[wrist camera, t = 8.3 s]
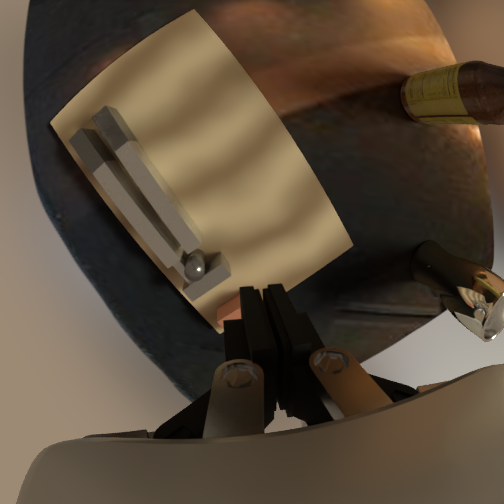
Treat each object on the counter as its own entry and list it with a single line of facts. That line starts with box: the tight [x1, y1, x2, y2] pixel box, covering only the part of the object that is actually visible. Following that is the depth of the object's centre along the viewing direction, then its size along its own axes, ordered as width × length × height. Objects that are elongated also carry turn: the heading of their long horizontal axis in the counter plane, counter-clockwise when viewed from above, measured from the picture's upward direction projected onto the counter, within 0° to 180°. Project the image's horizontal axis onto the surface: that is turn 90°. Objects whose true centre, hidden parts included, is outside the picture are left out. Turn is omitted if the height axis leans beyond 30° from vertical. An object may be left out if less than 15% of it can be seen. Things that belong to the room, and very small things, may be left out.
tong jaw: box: [92, 105, 203, 254], centre depth 23 cm, size 15×2×3 cm, turn 32°
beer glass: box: [410, 241, 504, 342], centre depth 27 cm, size 7×7×15 cm
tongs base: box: [69, 128, 232, 302], centre depth 24 cm, size 19×5×4 cm, turn 34°
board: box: [50, 9, 353, 333], centre depth 26 cm, size 30×18×1 cm, turn 34°
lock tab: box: [217, 294, 241, 329], centre depth 29 cm, size 3×4×2 cm
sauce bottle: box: [400, 61, 504, 125], centre depth 16 cm, size 7×6×20 cm
